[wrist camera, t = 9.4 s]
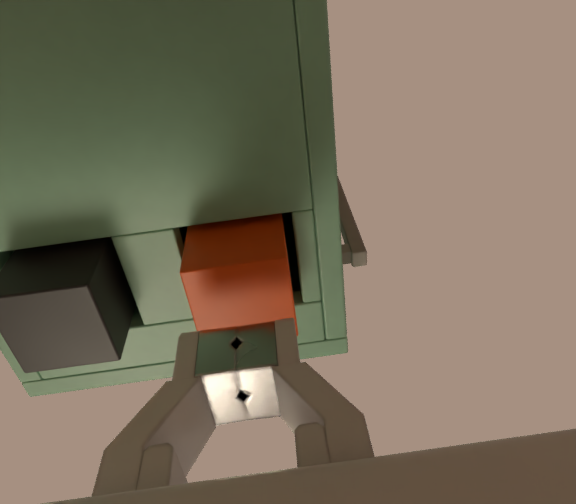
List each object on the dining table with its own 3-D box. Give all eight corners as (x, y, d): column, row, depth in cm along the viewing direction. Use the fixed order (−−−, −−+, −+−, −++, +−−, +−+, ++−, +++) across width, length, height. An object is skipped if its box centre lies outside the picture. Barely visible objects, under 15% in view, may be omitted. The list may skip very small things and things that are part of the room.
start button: (178, 272, 13) (202, 350, 15) (288, 257, 13) (298, 336, 15) (188, 217, 16) (207, 289, 17) (280, 204, 16) (290, 278, 17)
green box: (-363, -229, 9) (29, 397, 18) (380, -330, 9) (382, 348, 18) (-7, -139, 21) (115, 205, 31) (298, -180, 21) (325, 176, 31)
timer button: (-22, 299, 13) (24, 374, 15) (87, 284, 13) (121, 361, 15) (19, 240, 16) (55, 310, 17) (112, 227, 16) (138, 299, 17)
